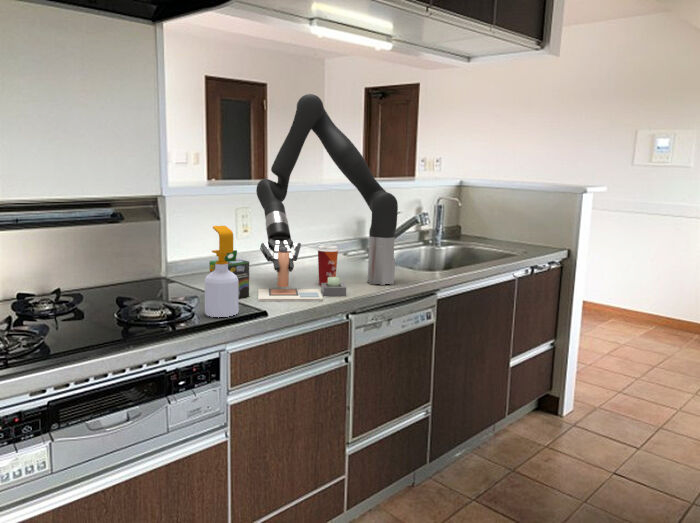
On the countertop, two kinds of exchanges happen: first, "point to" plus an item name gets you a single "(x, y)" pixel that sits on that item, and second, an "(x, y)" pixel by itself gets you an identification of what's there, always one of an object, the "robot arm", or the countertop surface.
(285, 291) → the board
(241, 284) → the chalk box
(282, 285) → the orange bottle with cap
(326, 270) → the paper cup
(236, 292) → the soap bottle
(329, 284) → the button
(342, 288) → the frame
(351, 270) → the countertop surface
